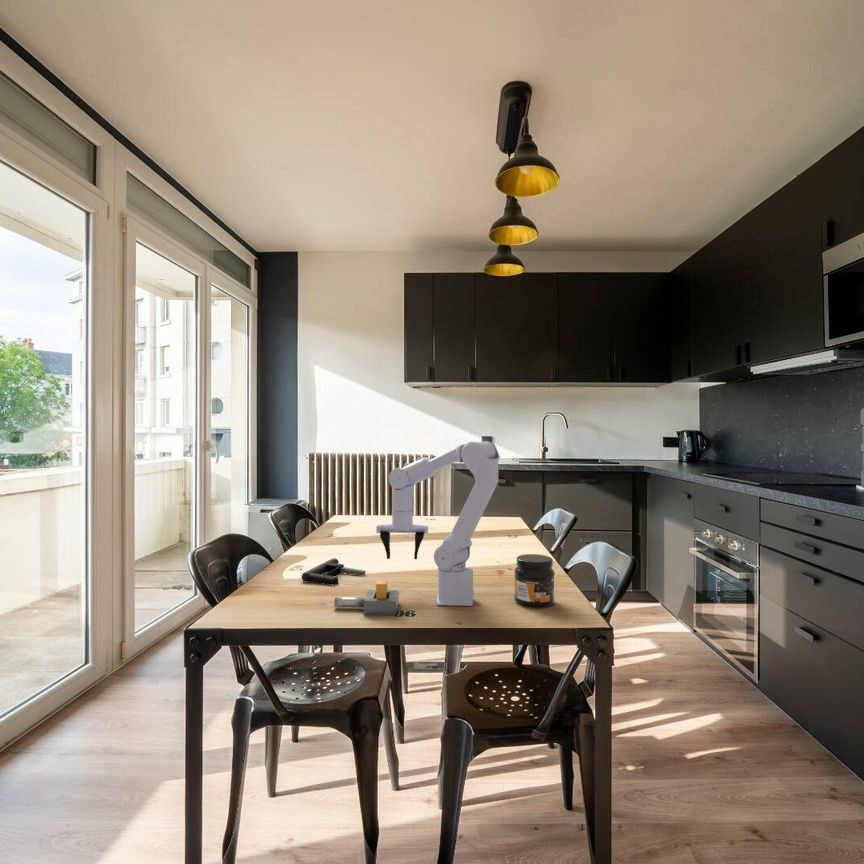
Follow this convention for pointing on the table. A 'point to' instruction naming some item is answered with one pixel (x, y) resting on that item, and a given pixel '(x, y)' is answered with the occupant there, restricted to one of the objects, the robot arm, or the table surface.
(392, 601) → the grey peg hole fixture
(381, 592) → the tall orange cuboid
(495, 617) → the table surface
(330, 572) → the door handle
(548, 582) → the supplement container
